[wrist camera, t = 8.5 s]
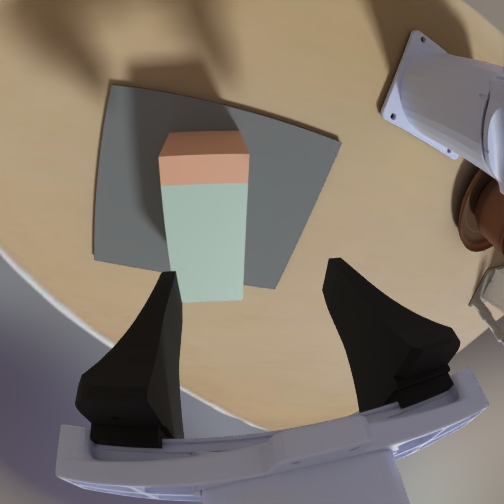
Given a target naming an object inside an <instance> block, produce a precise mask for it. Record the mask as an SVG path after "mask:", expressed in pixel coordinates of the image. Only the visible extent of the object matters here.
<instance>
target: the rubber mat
mask: <svg viewBox="0 0 504 504" xmlns="http://www.w3.org/2000/svg"><path fill="white" fill-rule="evenodd" d="M193 131H240V133H241V136H242V138H243V140H244V142H245V145H246V147H247V149H248V151H249V154H250V156H249V175H248V195H247V215H246V236H245V258H244V280H243V285H248V286H255V287H262V288H269V289H275V288H276V286H277V284H278V282H279V280H280V278H281V276H282V274H283V272H284V270H285V268H286V266H287V263H288V261H289V259H290V257H291V255H292V253H293V251H294V249H295V246H296V244H297V242H298V240H299V238H300V236H301V234H302V231H303V229H304V227H305V225H306V223H307V221H308V218H309V216H310V214H311V212H312V210H313V207H314V205H315V203H316V201H317V199H318V196H319V194H320V192H321V190H322V187H323V185H324V183H325V181H326V178H327V176H328V174H329V172H330V169H331V167H332V165H333V163H334V160H335V158H336V156H337V153H338V151H339V149H340V146H341V144H342V143H341V142H340V141H338V140H335V139H332V138H330V137H327V136H324V135H322V134H319V133H316V132H313V131H310V130H308V129H305V128H302V127H299V126H296V125H293V124H290V123H287V122H284V121H280V120H277V119H274V118H271V117H267V116H264V115H261V114H257V113H254V112H250V111H246V110H243V109H239V108H235V107H231V106H227V105H223V104H219V103H215V102H211V101H207V100H202V99H198V98H193V97H188V96H183V95H178V94H173V93H168V92H162V91H156V90H150V89H144V88H137V87H130V86H122V85H114V84H113V85H111V89H110V94H109V99H108V104H107V110H106V115H105V121H104V128H103V134H102V142H101V149H100V158H99V167H98V177H97V189H96V205H95V229H94V260H97V261H102V262H107V263H113V264H118V265H124V266H129V267H135V268H141V269H146V270H152V271H158V272H166V271H171V268H170V261H169V254H168V246H167V238H166V230H165V222H164V213H163V203H162V193H161V182H160V170H159V155H160V152H161V150H162V148H163V146H164V143H165V141H166V139H167V137H168V135H169V133H173V132H193Z"/></svg>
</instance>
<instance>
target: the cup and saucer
mask: <svg viewBox="0 0 504 504" xmlns="http://www.w3.org/2000/svg"><path fill="white" fill-rule="evenodd" d="M459 235H460V238H461V241H462V242H463V244H464V246H465V247H466V248H467V249H468V250H470V251H474V252H479V251H484V250H486V249H488V248H490V247H492V246H494V247H495V248H496V249H497V250H498V251H499V252H500V253H501V254H502V255H503V256H504V195H503V194H502V193H501V192H500V187H499V183H498V181H497V180H496V179H495V178H493V177H492V176H490V175H489V174H487V173H486V172H485V171H483V170H482V169H479V171H478V172H477V173H476V175H475V176H474V177H473V179H472V181H471V182H470V184H469V186H468V188H467V190H466V193H465V195H464V198H463V201H462V204H461V208H460V214H459Z"/></svg>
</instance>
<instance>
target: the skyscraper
mask: <svg viewBox="0 0 504 504" xmlns="http://www.w3.org/2000/svg"><path fill="white" fill-rule="evenodd" d="M486 301H488V302H489V303H491V304H492V305H493V306H495V307H496V308H498V309H499V310H500V311H502V312H503V313H504V265H503V266H499V267H495V268H491V269H487V271H486V273H485V275H484V277H483V279H482V281H481V283H480V285H479V287H478V289H477V290H476V292H475V294H474V296H473V298H472V300H471V301H470V303H469V306H470V307H471V306H474V307H475V309H476V310H477V312H478V313H479V315H480V317H481V318H482V320H483V321H485V322H486V323H487V324H488V326H489V327H490V329H491V330H492V332H493V334H494V335H495V337H496V338H497V340H498V342H502V343H503V345H504V332H503V331H502V329H501V328H500V326H499V325H498V324H497V322H496V321H495V320H494V318H493V317H492V313H491V312H490V311H489V309H488V308H487V307H486V306H485V304H484V303H483V302H486Z"/></svg>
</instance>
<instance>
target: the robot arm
mask: <svg viewBox="0 0 504 504" xmlns="http://www.w3.org/2000/svg"><path fill="white" fill-rule="evenodd" d="M421 37H422V39H423V42H421ZM392 113H393V118H391V117H390V116H391V114H392ZM380 114H381V117H382V118H383V119H385V120H387V121H389V122H391V123H393V124H395V125H396V126H398V127H400V128H402V129H404V130H406V131H407V132H409V133H411V134H413V135H414V136H416V137H418V138H420V139H421V140H423V141H425V142H426V143H428V144H429V145H431V146H433V147H434V148H436V149H438V150H439V151H441V152H442V153H444V154H445V155H447V156H448V157H450V158H451V159H453V160H456V159H457V158H458V156H459V155H460V156H461V157H463V158H464V159H466V160H468V161H469V162H471V163H472V164H474V165H475V166H477V167H478V168H480V169H482V170H483V171H485V172H486V173H487V174H489V175H490V176H492V177H493V178H495V179H496V180H497V181H498V183H499V187H500V192H501V193H502V194H503V195H504V67H502V66H498V65H495V64H491V63H487V62H483V61H479V60H474V59H470V58H465V57H460V56H455V55H450V54H448V53H447V52H446V51H445V50H444V49H442V48H441V47H440V46H439V45H437V44H436V43H435V42H434V41H432V40H431V39H430V38H428V37H427V36H426V35H424V34H423V33H422V32H420V31H418V30H413V31H412V32H411V34H410V37H409V40H408V43H407V45H406V48H405V51H404V53H403V56H402V59H401V61H400V64H399V66H398V69H397V72H396V74H395V77H394V79H393V82H392V84H391V87H390V89H389V92H388V94H387V97H386V99H385V101H384V104H383V106H382V109H381V112H380ZM447 150H448V151H447ZM322 291H323V294H324V298H325V301H326V305H327V308H328V310H329V312H330V315H331V317H332V319H333V322H334V324H335V326H336V329H337V331H338V333H339V335H340V338H341V340H342V342H343V345H344V348H345V350H346V354H347V357H348V361H349V364H350V368H351V372H352V376H353V380H354V384H355V389H356V394H357V399H358V406H359V412H360V413H358V414H354V415H350V416H346V417H342V418H338V419H334V420H330V421H325V422H321V423H316V424H311V425H306V426H301V427H296V428H290V429H284V430H278V431H271V432H264V433H257V434H247V435H238V436H227V437H213V438H194V439H184V432H183V423H182V413H181V401H180V384H179V357H180V345H181V333H182V300H181V295H180V290H179V285H178V280H177V274H176V271H166V272H162V273H161V275H160V277H159V279H158V281H157V283H156V285H155V287H154V289H153V291H152V293H151V295H150V297H149V298H148V300H147V302H146V304H145V305H144V307H143V309H142V310H141V312H140V313H139V315H138V316H137V318H136V320H135V321H134V322H133V324H132V325H131V327H130V328H129V329H128V330H127V332H126V333H125V334H124V336H123V337H122V338H121V339H120V340H119V341H118V343H117V344H116V345H115V346H114V347H113V348H112V349H111V350H110V351H109V352H108V353H107V354H106V355H105V356H104V357H103V358H102V359H101V360H100V361H99V362H98V363H96V364H95V365H94V366H93V367H91V368H90V369H89V370H88V371H87V372H85V373H84V374H82V376H81V379H80V382H79V386H78V390H77V395H76V401H75V405H76V408H77V409H78V410H79V412H80V413H81V414H82V415H83V416H85V417H86V418H87V419H88V420H89V421H90V422H91V423H92V424H91V430H90V429H87V428H84V427H77V426H69V425H61V430H60V437H59V445H58V454H57V463H56V476H57V477H59V478H61V479H63V480H66V481H68V482H70V483H72V484H74V485H76V486H79V487H81V488H84V489H88V490H93V491H100V492H106V493H112V494H118V495H125V496H132V497H141V498H150V499H161V500H176V501H202V503H203V504H410V503H409V500H408V497H407V494H406V491H405V488H404V485H403V482H402V479H401V476H400V473H399V470H398V467H397V464H396V460H399V459H401V458H403V457H405V456H408V455H410V454H412V453H414V452H416V451H418V450H420V449H422V448H424V447H426V446H428V445H430V444H432V443H434V442H436V441H438V440H440V439H442V438H444V437H445V436H447V435H449V434H451V433H453V432H455V431H457V430H459V429H460V428H462V427H464V426H465V425H466V424H468V423H469V422H470V421H471V420H473V419H474V418H475V417H476V416H477V415H479V414H480V413H481V412H482V411H483V410H485V409H486V408H487V407H488V406H489V402H488V400H487V398H486V396H485V394H484V392H483V390H482V389H481V387H480V385H479V383H478V381H477V380H476V377H475V375H474V374H473V372H472V370H471V369H470V368H469V367H468V368H466V369H464V370H462V371H459V372H457V373H455V374H453V375H452V376H451V377H450V376H449V374H448V372H449V371H450V368H449V366H448V363H449V361H450V360H451V359H452V358H453V356H454V355H455V354H456V352H457V351H458V349H459V347H460V340H459V339H458V337H457V335H456V334H455V332H454V331H453V329H452V328H450V327H447V326H444V325H442V324H439V323H436V322H433V321H431V320H429V319H427V318H424V317H422V316H420V315H418V314H416V313H414V312H412V311H411V310H409V309H407V308H405V307H403V306H402V305H400V304H399V303H397V302H396V301H394V300H392V299H391V298H390V297H388V296H387V295H385V294H384V293H383V292H381V291H380V290H379V289H377V288H376V287H375V286H374V285H372V284H371V283H370V282H369V281H367V280H366V279H365V278H364V277H363V276H361V275H360V274H359V273H358V272H357V271H356V270H355V269H353V268H352V267H351V266H350V265H349V264H348V263H346V262H345V261H344V260H343V259H342V258H330V259H329V261H328V265H327V270H326V275H325V280H324V284H323V289H322Z"/></svg>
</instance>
